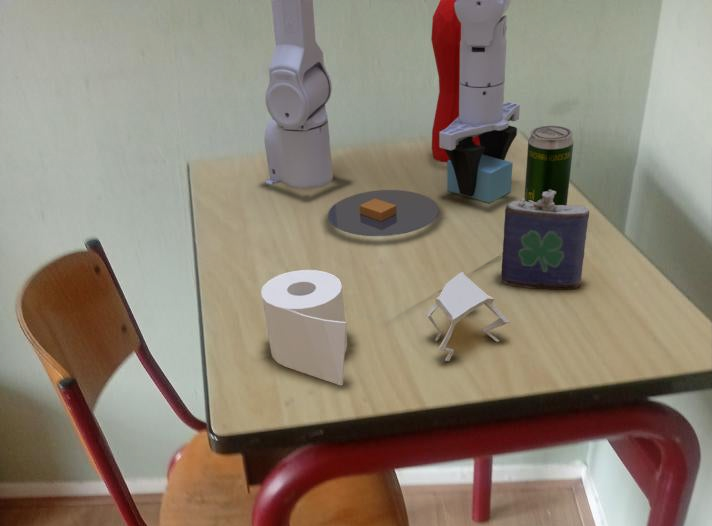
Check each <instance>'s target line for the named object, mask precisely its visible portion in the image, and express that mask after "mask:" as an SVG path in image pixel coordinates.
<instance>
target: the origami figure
mask: <svg viewBox="0 0 712 526" xmlns="http://www.w3.org/2000/svg"><path fill="white" fill-rule="evenodd" d="M494 301H495V298H493V297H492V296H490V295H488V294H487V293H486V292H485V291H483V290H482V289H481V288H480V286H478V285H477V284H476V283H474V281H472V280H471V279H470V278H469V277H468V276H467V275H465V274H464V271H460V272H459V273H458V274H456V275H455V276H454V277H453V278H451V279H450V280H449V281H448V282H446V284H445V285H444V287H443V288H442V290H441V292H440V294H439V296H437V297H436V298H435V303H434V305H433V306H432V307H431V308H430V310H429V311H427V313H426V317H427V318H428V320H429V321H430V322H431V323H432V325H433V327H434V328H435V329H436V330H437V332H438V334H437V335H436V337H435V339H434V340H435V342H438V341H439V340H440V338H441V335H442V331H441V329H440V328H439V327H438V325H437V323H436V322H435V320H434V318H433V317H432V315H433V314H434V312H435V311H436V310H437V309H438V308H439V309H441V311H442V312H443V314H444V315H445V316H446V317H447V319H448V320H449V322H451V323H450V326H449V328H448V330H447V332H446V335H445V336H444V337H443V340H442V341H441V343H440V345H439V347H438V351H442V352H448V354H447V355H446V357H445V362H449V361H450V360H451V358H452V356H453V355H454V352H455V351H454V349H452V348H448V347H447V345H448V343H449V341H450V339H451V336H452V335H453V334H452V333H453V331H454V328H455V326H456V324H457V323H459V322H460V321H461V320H463V319H464V318H465V317H467V315H469V314H472V312H473V311H475V310H477V309H479V308H480V307H482V306H483V305H485V307H487V308H488V309H489V310H490V311H491V312H493V314H494V315H496V316H497V317H498V318H497V319H496V320H494V321H493V322H490V323H489V324H488V325H486V326H484V327H482V328H481V330H482V331H483V332H484V333H485V334H487V335H488V336H489V337H490V338H491V339H493V340H494V341H495V342H500V339H498V338H497V336H494V334H492V333H491V332H490V331H492V330H494V329H496V328H499V327H501V326H504V325H507V324H509V323H511V322H510V321H509V319H508V318H507V317H506V316H505V315H504V314H503V312H501V311H500V310H499V309H498V307H496V306H495V305H494V304H493V303H494Z"/></svg>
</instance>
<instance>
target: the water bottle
mask: <svg viewBox="0 0 712 526" xmlns="http://www.w3.org/2000/svg"><path fill="white" fill-rule="evenodd" d="M455 2H457V1H456V0H439V2H438V4H437V6H436V9H435V10H434V13H433V15H432V20H431V22H432V23H431V36H430V37H431V39H430V40H431V45H432V50H433V55H434V56H433V57H434V60H435V65H436V71H437V76H438V96H437V102H436V107H435V113H434V119H433V125H432V130H431V153H432V157H433V160H434V159H435V160H437V161H439V162H444V163H447V161H449V160H450V159H449V157H448V155H447V153H446V152H445V150H444V149H443V148H440V147H439V132H441V131H443V130H444V129H446V128H447V127H448V126H449V125H450V124H451V123H452V122H453V121H455V120H456V119H457V118H458V117H459V84H460V41H461V23H460V21H459V19H458V18H457V15H456V12H455V6H454V3H455ZM474 141H475V145H479V146H480V141H479V137H478V136H476V137H473V142H474Z"/></svg>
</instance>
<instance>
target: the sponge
mask: <svg viewBox="0 0 712 526" xmlns="http://www.w3.org/2000/svg"><path fill="white" fill-rule="evenodd" d="M512 178H513V162H512V161H508V160H501V159H498V158H494V157H490V156H486V155H483V154H482V156H481V159H480V162H479V166H478V171H477V181H476V188H475V192H474V195H473V196H471V197H470V196H466V195H463V194H460V192H459V187H458V183H457V179H456V175H455V172H454V168H453V166H452V163H451V161H450V160H449V161H447V162H446V191H447V192H449V193H453V194H456V195H460V196H462V197H466V198H470V199H473V200H476V201H480V202H483V203H486V204H489V205H491V204H492V203H493V202H495V201H498V200H499V199H501V198H503V197H504V196H507V195H508V194H511V192H512Z"/></svg>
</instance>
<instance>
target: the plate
mask: <svg viewBox="0 0 712 526" xmlns="http://www.w3.org/2000/svg"><path fill="white" fill-rule="evenodd" d="M374 198H375V199H378V200H381V201H384V202H387V203H390V204H393V205H396V213H397V214H396V215H393V216H391V217H389V218H387V219H385V220H383V221H379V220H376V219H373V218H370V217H367V216H364V215H361V214H360V205H362V204H364V203H366V202H368V201H370V200H372V199H374ZM439 213H440V207H439V205H438V204H437V203H436V202H435V201H434V199H432V198H430V197H428V196H427V195H425V194H421V193H418V192H413V191H409V190H401V189H380V190H371V191H370V190H369V191H364V192H360V193H356V194H353V195H350V196H347V197H345V198H343V199H341V200H339V201H338V202H337V201H336V203H335V204H333V205H332V206H331V207H330V209H329V211H328V213H327V219H328V221H329V222H330V223H331V225H332V226H333V227H334V228H336V229H338V230H339V231H343V232H345V233H348V234H352V235H356V236H364V237H390V236H391V237H392V236H398V235H403V234H408V233H412V232H415V231H418V230H420V229H422V228H425V227H427V226H429V225H430V224H431V223H433V222H434V221H435V220H436V219H437V218H438V216H439Z"/></svg>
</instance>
